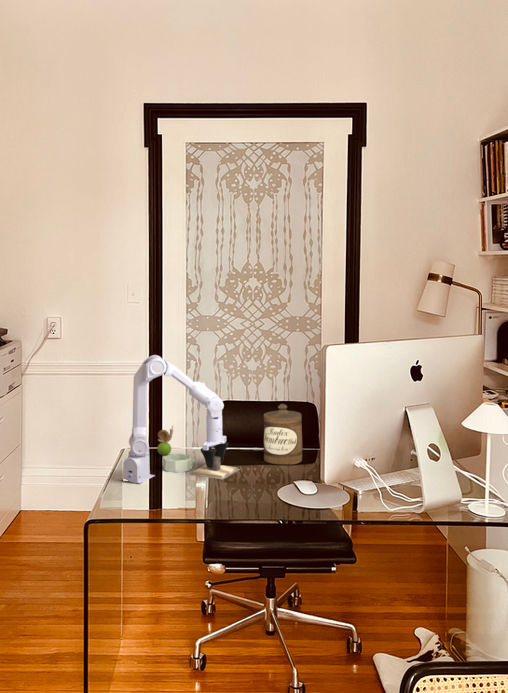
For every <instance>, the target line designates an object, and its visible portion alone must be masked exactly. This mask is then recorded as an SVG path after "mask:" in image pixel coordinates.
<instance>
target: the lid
mask: <svg viewBox="0 0 508 693" xmlns="http://www.w3.org/2000/svg"><path fill="white" fill-rule="evenodd" d="M237 469H238V466H230V465H224V464H223V465H222V464H221V463H220V457H216V455H215V456H214V465H213V468H207V465H206V464H205V465H203V466H201V467H199V468H197V469H195V470H193V471H192V472H191V473H192V474H194V475H202V476H209V477H216V478H223V477H225V476H227V475H228V474H230V473H232V472H234V471H235V470H237ZM194 475H193V476H194Z"/></svg>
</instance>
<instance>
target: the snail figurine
mask: <svg viewBox="0 0 508 693" xmlns="http://www.w3.org/2000/svg"><path fill="white" fill-rule="evenodd" d="M173 433H174V425H172V426H171V428H170V429H169V431H168V430H166V429H161V430H159V431H158V432H157V438H158V439H157V441H158V442H159V444H158V445H157V452H158V454H159V455H160V456H163V457H165V456H167V455H169V454H171V452H172V446H171V444H170V443H169V442H170V441H171V440H172V437H173Z"/></svg>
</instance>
